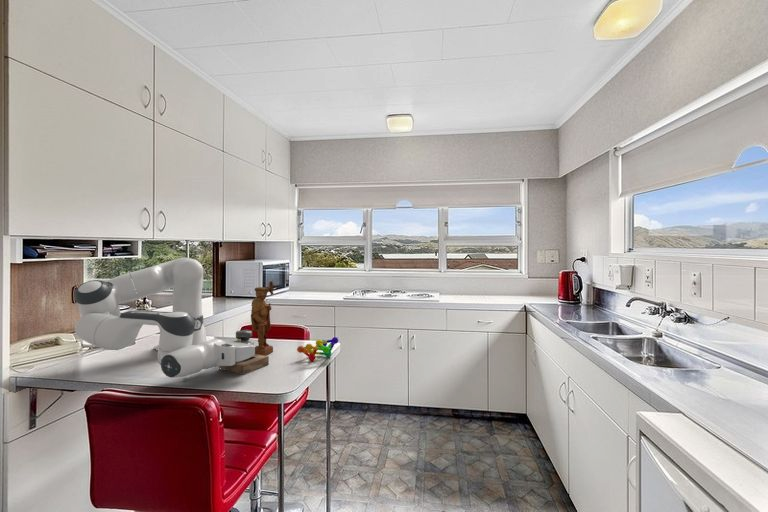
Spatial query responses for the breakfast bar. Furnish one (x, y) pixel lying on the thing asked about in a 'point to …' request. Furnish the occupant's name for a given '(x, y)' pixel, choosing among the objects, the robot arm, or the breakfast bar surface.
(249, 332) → the knob stem
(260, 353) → the sculpture
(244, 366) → the wooden stand
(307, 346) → the decorative model
